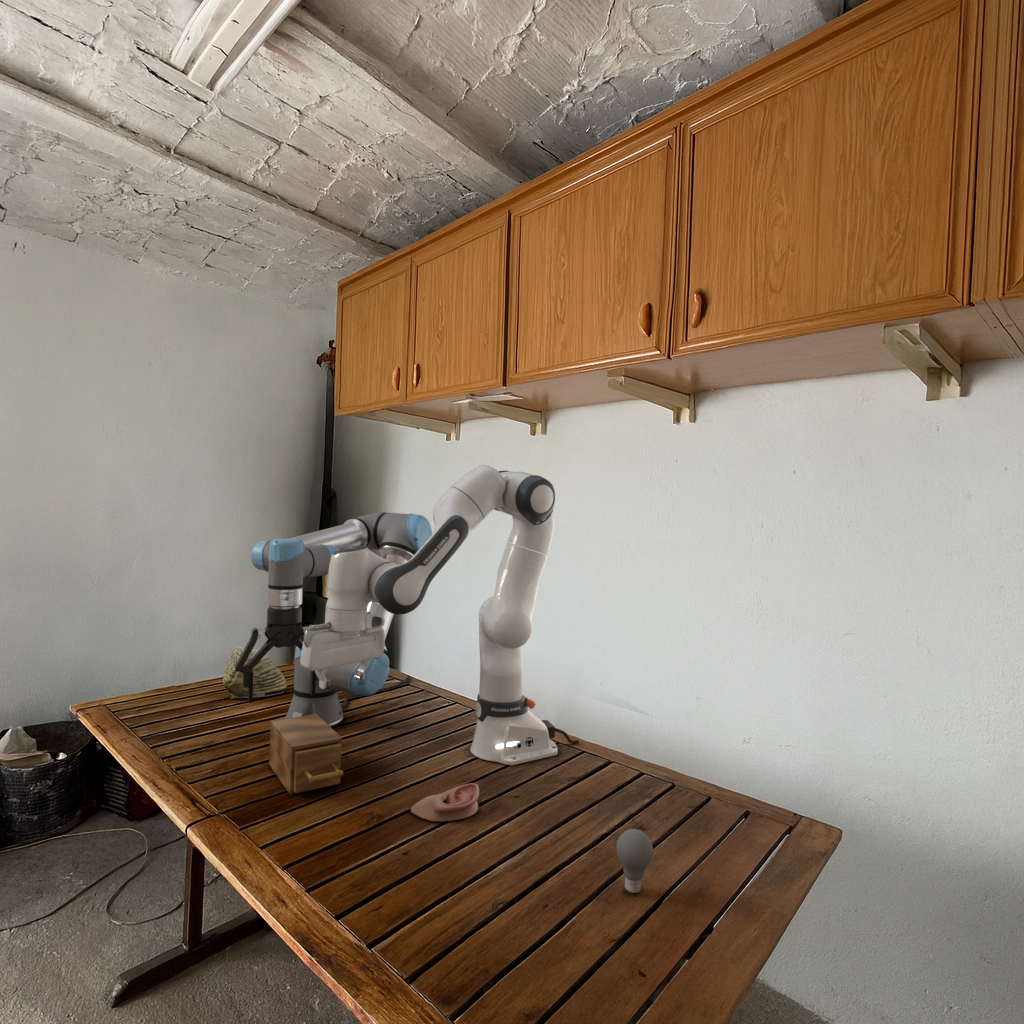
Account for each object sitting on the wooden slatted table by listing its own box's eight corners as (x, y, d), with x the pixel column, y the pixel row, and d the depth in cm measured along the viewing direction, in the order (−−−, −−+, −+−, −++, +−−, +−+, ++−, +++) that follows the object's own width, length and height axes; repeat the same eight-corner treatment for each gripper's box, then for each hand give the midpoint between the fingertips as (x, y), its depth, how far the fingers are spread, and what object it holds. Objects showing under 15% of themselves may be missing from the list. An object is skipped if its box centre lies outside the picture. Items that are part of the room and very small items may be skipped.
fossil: (218, 695, 195) (220, 647, 195) (278, 685, 208) (279, 640, 207) (228, 703, 189) (230, 653, 188) (289, 692, 201) (290, 645, 201)
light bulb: (610, 879, 108) (613, 822, 108) (644, 879, 109) (647, 822, 109) (619, 902, 102) (622, 840, 102) (655, 901, 103) (658, 840, 103)
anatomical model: (405, 797, 126) (424, 773, 137) (404, 817, 126) (424, 792, 138) (469, 807, 124) (484, 782, 135) (468, 827, 124) (483, 800, 135)
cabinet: (340, 783, 140) (341, 737, 140) (289, 794, 134) (291, 746, 134) (315, 755, 155) (316, 713, 154) (269, 764, 148) (270, 720, 148)
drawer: (348, 792, 134) (350, 753, 134) (302, 803, 129) (304, 762, 128) (316, 756, 152) (317, 721, 152) (274, 764, 146) (276, 728, 146)
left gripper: (226, 611, 136) (223, 709, 137) (343, 606, 148) (340, 696, 148) (224, 605, 143) (221, 698, 144) (336, 601, 154) (333, 687, 155)
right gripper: (314, 628, 127) (310, 696, 127) (390, 617, 144) (387, 678, 144) (295, 623, 131) (291, 689, 131) (372, 613, 147) (368, 672, 148)
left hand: (281, 698), depth 146 cm, fingers open, 13 cm apart
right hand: (342, 683), depth 138 cm, fingers open, 8 cm apart
